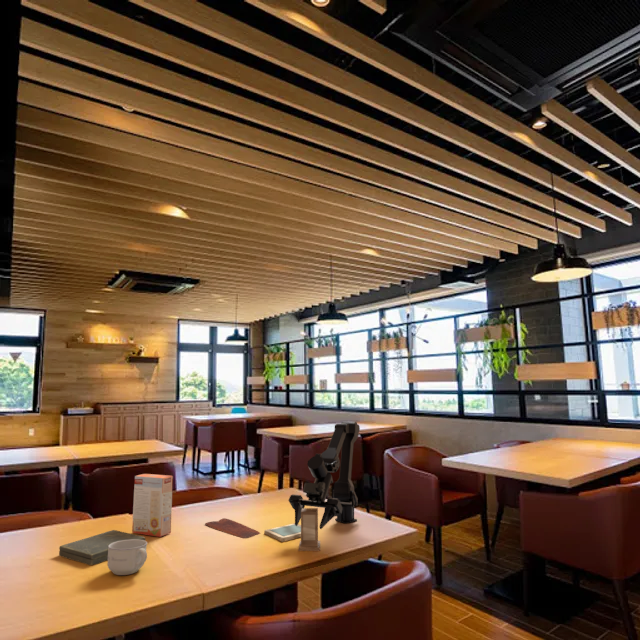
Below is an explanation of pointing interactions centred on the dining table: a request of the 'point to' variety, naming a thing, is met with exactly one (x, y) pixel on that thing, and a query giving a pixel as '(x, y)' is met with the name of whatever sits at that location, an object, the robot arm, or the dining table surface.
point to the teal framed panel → (285, 532)
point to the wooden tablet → (233, 528)
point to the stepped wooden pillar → (309, 530)
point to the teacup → (126, 556)
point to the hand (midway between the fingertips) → (307, 526)
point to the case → (94, 547)
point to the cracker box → (152, 505)
